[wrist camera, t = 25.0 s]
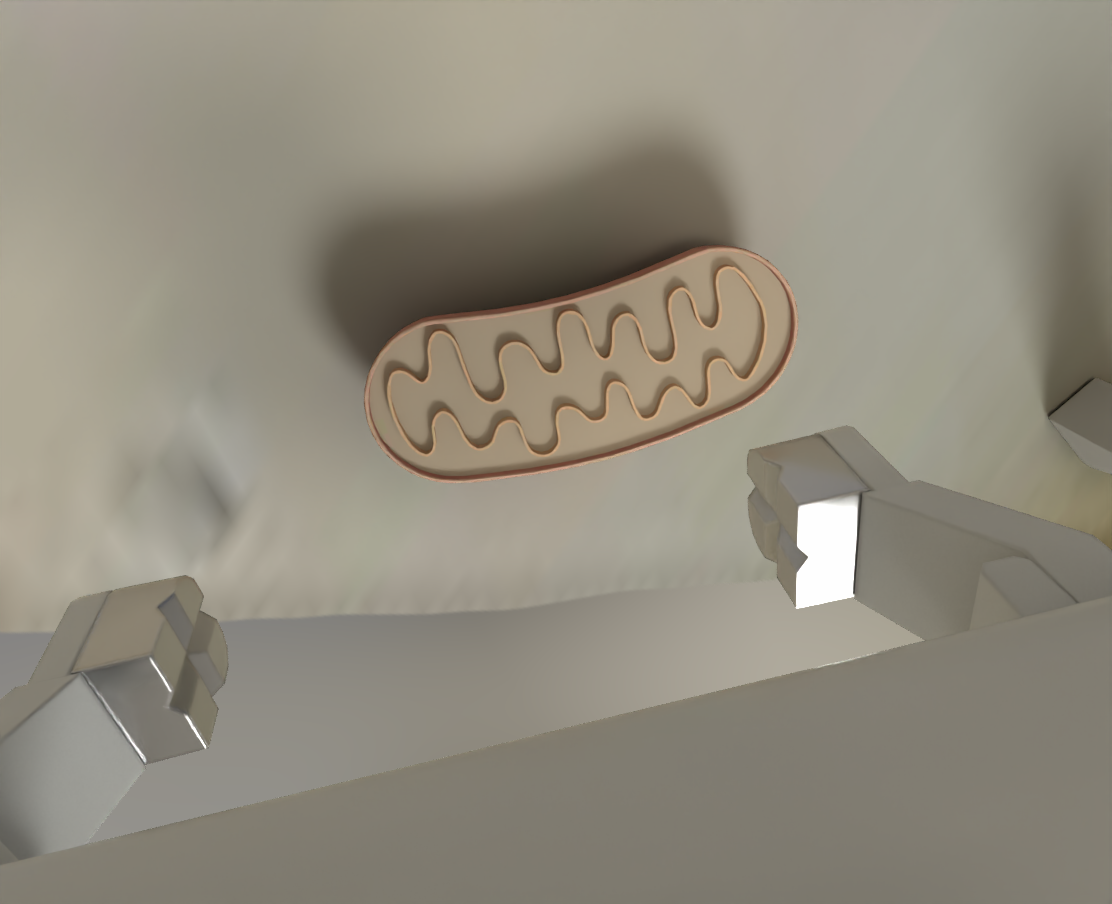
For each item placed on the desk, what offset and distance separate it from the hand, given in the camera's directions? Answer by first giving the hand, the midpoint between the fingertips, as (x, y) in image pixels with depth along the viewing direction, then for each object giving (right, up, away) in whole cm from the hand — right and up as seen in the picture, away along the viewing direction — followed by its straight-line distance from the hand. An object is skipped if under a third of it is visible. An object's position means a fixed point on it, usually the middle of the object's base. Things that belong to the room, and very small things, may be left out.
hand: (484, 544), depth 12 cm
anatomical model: (+2, +7, +34) cm, 35 cm away
